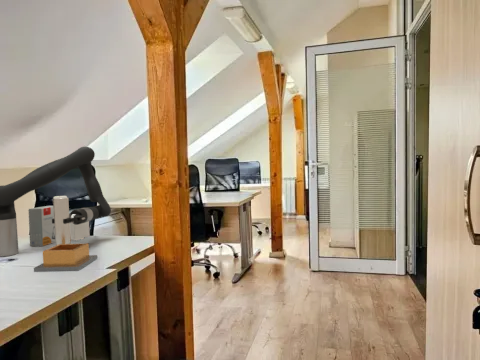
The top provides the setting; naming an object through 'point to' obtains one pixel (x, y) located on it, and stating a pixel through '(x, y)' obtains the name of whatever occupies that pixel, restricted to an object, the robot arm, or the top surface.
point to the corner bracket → (79, 231)
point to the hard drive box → (41, 226)
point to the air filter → (61, 220)
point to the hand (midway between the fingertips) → (58, 221)
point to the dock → (66, 258)
